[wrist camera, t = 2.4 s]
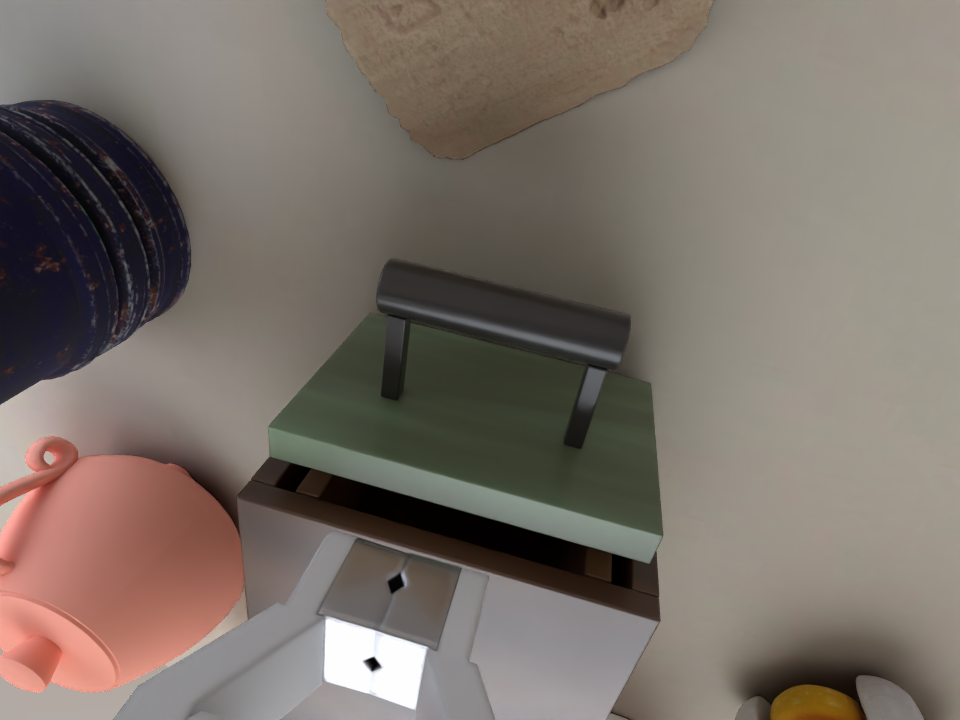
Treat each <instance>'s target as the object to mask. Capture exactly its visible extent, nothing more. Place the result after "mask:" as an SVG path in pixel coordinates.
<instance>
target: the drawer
mask: <svg viewBox="0 0 960 720" xmlns="http://www.w3.org/2000/svg"><path fill="white" fill-rule="evenodd" d="M377 307H378V309H379V311H381V312H383V313H387V314H388V315H387V317H386V316H382V315H378V314H374V313H369V314H368V316H367V317H366V318H365V319H364V320H363V321H362V322H361V323H360V324H359V326H358V327H357V328H356V329H355V330H354V331H353V332H352V333H351V335H350V336H349V337H348V338H347V339H346V340H345V341H344V342H343V343H342V345H341V346H340V347H339V348H338V349H337V350H336V351H335V352H334V353H333V355H332V356H331V357H330V358H329V359H328V360H327V361H326V362H325V363H324V365H323V366H322V367H321V368H320V369H319V370H318V371H317V372H316V374H315V375H314V376H313V377H312V378H311V379H310V380H309V381H308V382H307V384H306V385H305V386H304V387H303V388H302V389H301V390H300V391H299V392H298V394H297V395H296V396H295V397H294V398H293V399H292V400H291V401H290V402H289V404H288V405H287V406H286V407H285V408H284V409H283V410H282V411H281V413H280V414H279V415H278V416H277V417H276V418H275V419H274V420H273V421H272V423H271V424H270V425H269V426H268V432H269V453H270V457H273V458H276V459H280V460H283V461H287V462H290V463H294V464H298V465H301V466H305V467H308V468H311V470H310V471H309V472H308V474H307V475H306V477H305V478H304V480H303V481H302V482H301V484H300V485H299V487H298V488H297V489H296V493H298V494H301V495H305V496H308V497H311V498H315V499H318V500H322V501H325V502H329V503H332V504H336V505H339V506H343V507H346V508H350V509H353V510H357V511H360V512H363V513H367V514H370V515H374V516H377V517H381V518H384V519H388V520H391V521H395V522H398V523H402V524H405V525H409V526H412V527H416V528H419V529H422V530H426V531H429V532H433V533H436V534H440V535H443V536H447V537H450V538H454V539H457V540H461V541H464V542H468V543H471V544H474V545H478V546H481V547H485V548H488V549H492V550H495V551H499V552H502V553H506V554H509V555H513V556H516V557H520V558H523V559H527V560H530V561H533V562H537V563H540V564H544V565H547V566H551V567H554V568H558V569H561V570H565V571H568V572H572V573H575V574H579V575H582V576H585V577H589V578H592V579H596V580H599V581H603V582H606V583H611V579H612V554H616V555H619V556H623V557H626V558H630V559H633V560H637V561H641V562H644V563H648V564H649V563H650V562H651V560H652V558H653V556H654V554H655V552H656V550H657V548H658V546H659V544H660V542H661V540H662V537H663V525H662V513H661V501H660V488H659V476H658V463H657V451H656V439H655V426H654V414H653V401H652V389H651V383H649V382H645V381H641V380H637V379H633V378H629V377H625V376H621V375H617V374H613V373H609V372H608V369H612V370H617V368H618V367H619V366H620V364H621V361H622V359H623V356H624V353H625V350H626V347H627V343H628V339H629V335H630V329H631V316H630V315H629V314H625V313H621V312H617V311H613V310H608V309H604V308H600V307H596V306H592V305H588V304H583V303H579V302H575V301H571V300H567V299H562V298H558V297H554V296H550V295H546V294H542V293H537V292H533V291H529V290H525V289H521V288H517V287H512V286H508V285H504V284H500V283H496V282H491V281H487V280H483V279H479V278H475V277H471V276H466V275H462V274H458V273H454V272H450V271H445V270H441V269H437V268H433V267H429V266H425V265H420V264H416V263H412V262H408V261H404V260H399V259H395V258H391V259H389V260H388V261H387V263H386V264H385V266H384V268H383V270H382V273H381V275H380V279H379V283H378V288H377ZM411 320H415V321H419V322H423V323H427V324H431V325H435V326H439V327H443V328H447V329H451V330H455V331H459V332H463V333H467V334H471V335H475V336H479V337H483V338H487V339H491V340H495V341H499V342H503V343H507V344H511V345H516V346H520V347H524V348H528V349H532V350H536V351H540V352H544V353H548V354H552V355H556V356H560V357H564V358H568V359H572V360H576V361H580V362H584V363H586V366H581V365H577V364H573V363H569V362H565V361H561V360H557V359H553V358H549V357H545V356H541V355H537V354H533V353H529V352H525V351H521V350H517V349H513V348H509V347H505V346H501V345H497V344H493V343H489V342H485V341H481V340H477V339H473V338H469V337H465V336H461V335H457V334H453V333H449V332H445V331H441V330H437V329H433V328H429V327H425V326H421V325H417V324H413V323H411Z"/></svg>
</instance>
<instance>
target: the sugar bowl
mask: <svg viewBox="0 0 960 720" xmlns="http://www.w3.org/2000/svg"><path fill="white" fill-rule="evenodd" d="M45 451H49V452H51V453H52V454H53V455H54V456H55V461H54V462H53V464H52V465H49V464H47V463H46V462H45V461H44V453H45ZM25 460H26V464H27V465H28V467H30V468H31V469H32V470H34V471H36V473H33V474H31V475H28V476H25V477H23V478H20V479H18V480H15V481H13V482H10V483H8V484H6V485H3V486H1V487H0V506H1V505H2V504H4V503H6V502H8V501H10V500H12V499H14V498H16V497H18V496H20V495H22V494H25V493H27V492H28V493H27V494H26V495H25V497H24V498H23V499H22V500H21V502H20V503H19V504H18V506H17V507H16V508H15V509H14V511H13V513H12V514H11V516H10V518H9V519H8V521H7V523H6V524H5V526H4V528H3V530H2V532H1V534H0V649H1V650H2V651H3V652H4V654H2V655H1V656H0V675H1V676H2V677H3V678H4V679H5V680H7V681H8V682H9V683H11V684H12V685H14V686H16V687H18V688H20V689H23V690H26V691H30V692H43V691H44V690H45V689H46V687H47V686H48V684H49V682H52V683H55V684H57V685H60V686H62V687H65V688H69V689H72V690H76V691H82V692H93V693H95V692H102V691H108V690H111V689H114V688H116V687H118V686H121V685H123V684H126V683H128V682H130V681H132V680H134V679H136V678H138V677H140V676H142V675H144V674H146V673H148V672H150V671H152V670H154V669H156V668H158V667H160V666H162V665H164V664H166V663H168V662H169V661H171V660H173V659H174V658H176V657H178V656H179V655H181V654H183V653H184V652H186V651H187V650H189V649H190V648H191V647H193V646H194V645H195V644H197V643H198V642H199V641H201V640H202V639H203V638H204V637H205V636H206V635H208V634H209V633H210V632H211V631H212V630H213V629H214V628H215V627H216V626H217V625H218V624H219V623H220V622H221V621H222V620H223V619H224V618H225V617H226V616H227V615H228V613H229V612H230V611H231V609H232V608H233V607H234V605H235V604H236V602H237V601H238V600H239V598H240V596H241V593H242V590H243V586H244V571H243V561H242V550H241V541H240V537H239V534H238V531H237V529H236V527H235V525H234V523H233V521H232V520H231V518H230V517H229V515H228V514H227V512H226V511H225V510H224V508H223V507H222V506H221V505H220V503H219V502H218V501H217V500H216V499H215V498H214V497H213V496H212V495H211V494H210V493H209V492H208V491H206V490H205V489H204V488H203V487H202V486H201V485H199V484H198V483H197V482H195V481H194V480H192V477H191V476H190V474H189V473H188V472H187V471H186V470H185V469H184V468H182V467H180V466H179V465H176V464H172V463H168V464H163V463H160V462H157V461H154V460H151V459H148V458H143V457H139V456H130V455H94V456H85V457H79V458H78V451H77V449H76V447H75V446H74V445H73V444H72V443H70V442H69V441H67V440H65V439H62V438H60V437H54V436H51V437H45V438H42V439H39V440H38V441H36V442H34V443H33V444H32V445H31V446H30V447H29V449H28V450H27V452H26V455H25Z"/></svg>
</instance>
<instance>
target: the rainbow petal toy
mask: <svg viewBox="0 0 960 720" xmlns="http://www.w3.org/2000/svg"><path fill="white" fill-rule="evenodd" d="M856 688H857V692H858V696H859V699H860V702H861V705H862V707H861V706H860V705H859V704H858V703H857V702H856V701H855V700H854V699H852V698H851V697H849V696H847V695H845V694H843V693H841V692H839V691H836V690H833V689H831V688H827V687H822V686H817V685H798V686H794V687H791V688H789V689H787V690H785V691H784V692H782V693H781V694H780V695H778V696H777V697H776V698H775V699H774V701H773V703H772V706H771V705H770V704H769V703H768V701H767V700H765V699H764V698H763V697H760V696H756V697H753V698H751V699H749V700H747V701H746V702H745V703H744V704H743V705H742V706H741V707H740V709H739V710H738V712H737V714H736V717H735V720H924V718H923V716H922V714H921V712H920V710H919V708H918V707H917V705H916V703H915V702H914V700H913V699H912V697H911V696H910V695H909V694H908V693H907V692H906V691H904V690H903V689H902V688H900V687H899V686H897V685H896V684H894V683H892V682H890V681H888V680H885V679H883V678H879V677H875V676H869V675H860V676H858V677H857V678H856Z"/></svg>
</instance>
